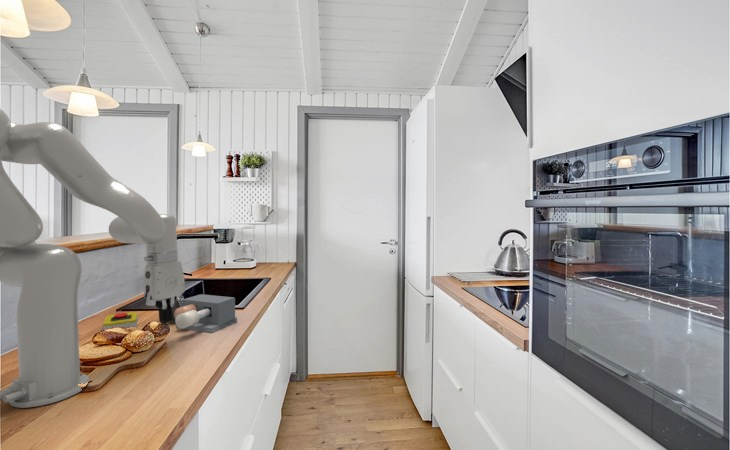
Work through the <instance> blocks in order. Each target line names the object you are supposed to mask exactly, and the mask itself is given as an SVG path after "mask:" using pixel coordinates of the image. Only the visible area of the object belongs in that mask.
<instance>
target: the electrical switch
mask: <svg viewBox="0 0 730 450" xmlns="http://www.w3.org/2000/svg"><path fill="white" fill-rule="evenodd" d="M160 302H161V301H160ZM180 307H183V301H182V299H181V298H180V297H179V298H177V299H176V300H175V302H174V306H173V307H172V321H169V322H168V323H172V324H175V325H176V322H175V316H174V312H175V310H176V309H177V308H180Z"/></svg>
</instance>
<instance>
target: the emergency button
mask: <svg viewBox="0 0 730 450" xmlns="http://www.w3.org/2000/svg"><path fill="white" fill-rule="evenodd" d="M137 322H138V323H139V317H138V312H137V311H131V312H121V313H116V314H115V313H114V314H110V315H109V314H108V315H106V316H105V318H104V321H103V324H102V331H103V330H105V329H109V328H112V327H125V328H130V327H136V326H137V327H138V324H137Z"/></svg>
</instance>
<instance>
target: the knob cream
mask: <svg viewBox="0 0 730 450" xmlns="http://www.w3.org/2000/svg"><path fill="white" fill-rule="evenodd" d="M209 315H211V308H207V309H204V310H201V311H198V312H197V311H196V310H191V311H188V312H185V313H182V314H179V315H177V317H176V319H175V322H176V324H175V326H176V325H177V327H178V328H177V329H181V330H184V329H183V328H186V327H189V326H191V325H194V324H196V323H198V322H199V319H201V318H203V317H206V316H209Z"/></svg>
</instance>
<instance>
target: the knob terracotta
mask: <svg viewBox="0 0 730 450" xmlns="http://www.w3.org/2000/svg"><path fill="white" fill-rule="evenodd" d="M191 310H196V311H197V306H195V305H193V304H190V305H187V306H184V307H180V308H177V309H176V310H175V312H174V316H175V319H176V317H177V315H179V314H182V313H185V312H188V311H191Z"/></svg>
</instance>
